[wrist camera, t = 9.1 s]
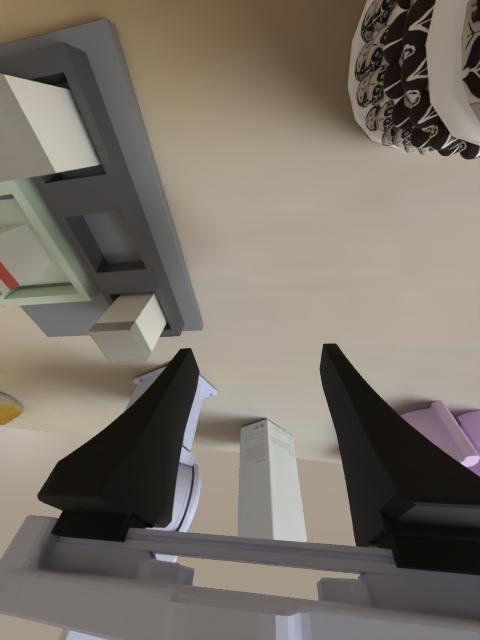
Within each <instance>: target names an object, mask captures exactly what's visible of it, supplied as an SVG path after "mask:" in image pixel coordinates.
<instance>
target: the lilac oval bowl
mask: <svg viewBox="0 0 480 640" xmlns="http://www.w3.org/2000/svg"><path fill="white" fill-rule="evenodd" d="M400 416H401V417H402V418H403V419H404V420H406V421H407V422H408V423H409V424H410V425H411V426H413V427H414V428H415V429H416V430H418V431H419V432H420V433H421V434H422V435H424V436H425V437H426V438H427V439H429V440H430V441H431V442H432V443H434V444H435V445H436V446H438V447H439V448H440V449H442V450H443V451H444V452H446V453H447V454H448V455H450V456H451V457H452V458H454V459H455V460H457V461H458V462H460V463H461V464H462V465H464V466H465V467H467V468H468V469H470V470H471V471H473V472H474V473H475V474H477V475H478V476H480V410H477V411H473V412H469V413H465V414H462V415H460V416H458V419H459V420H460V422H461V427H460V426H459V425H458V423H457V422H456V420H455V419H454V417H453V416H452V414H451V413H450V411H449V410H448V408H447V407H446V405H445V404H444V402H443V401H435V402H432V403H431V407H430V408H428V409H422V410H416V411H412V412H408V413H405V414H402V415H400Z"/></svg>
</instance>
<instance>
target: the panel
mask: <svg viewBox="0 0 480 640" xmlns="http://www.w3.org/2000/svg"><path fill="white" fill-rule="evenodd" d="M0 74H4V75H9V76H13V77H17V78H22V79H26V80H30V81H35V82H39V83H43V84H48V85H52V86H56V87H61V88H65V89H69V90H71V91H72V93H73V95H74V98H75V100H76V103H77V105H78V107H79V110H80V112H81V115H82V117H83V119H84V122H85V124H86V127H87V129H88V131H89V134H90V136H91V138H92V141H93V143H94V146H95V148H96V150H97V153H98V155H99V158H100V160H101V162H102V164H101V165H96V166H90V167H85V168H80V169H74V170H69V171H64V172H58V173H53V174H48V175H42V176H36V177H30V178H24V179H17V180H11V181H5V182H0V227H5V226H13V225H21V224H27V225H28V226H29V228H30V229H31V230H32V232H33V233H34V235H35V236H36V238H37V239H38V241H39V242H40V244H41V245H42V247H43V248H44V249H45V251H46V252H47V254H48V255H49V257H50V258H51V260H52V261H53V264H51V265H49V266H48V267H46V268H45V269H43V270H41V271H40V272H38V273H36V274H35V275H33V276H32V277H30V278H28V279H27V280H25V281H23V282H22V283H20V284H19V286H17V287H16V288H14V289H12V290H10V291H7V292H6V293H4V294H2V295H1V296H0V304H1V306H2V307H6V306H21V307H22V308H23V309H24V311H25V312H26V313H27V314H28V315H29V316H30V317H31V318H32V320H33V321H34V322H35V323H36V324H37V325H38V326H39V327H40V329H41V330H42V331H43V332H44V333H45V334H46V335H47V336H48V337H58V336H80V335H89V333H88V331H89V330H90V329H91V327H92V326H93V325H94V324H95V323H96V322H97V321H98V320H99V318H100V317H101V316H102V315H103V314H104V313H105V312H106V310H107V309H108V308H109V307H110V306H111V305H112V304H113V303H114V301H115V300H116V299H117V298H118V297H119V296H120V295H121V294H126V293H140V292H154V291H155V292H156V294H157V296H158V299H159V301H160V304H161V306H162V308H163V311H164V313H165V315H166V318H167V320H168V321H167V323H166V325H165V327H164V329H163V331H162V333H161V335H160V337H169V336H180V335H181V332H182V331H192V330H202V329H203V322H202V318H201V315H200V312H199V308H198V305H197V302H196V298H195V295H194V291H193V288H192V285H191V281H190V278H189V274H188V271H187V268H186V264H185V261H184V258H183V254H182V251H181V247H180V244H179V241H178V237H177V234H176V231H175V227H174V224H173V220H172V217H171V214H170V210H169V207H168V203H167V200H166V197H165V193H164V190H163V187H162V183H161V180H160V176H159V173H158V170H157V166H156V163H155V160H154V156H153V153H152V149H151V146H150V143H149V139H148V136H147V133H146V129H145V126H144V122H143V119H142V116H141V112H140V109H139V105H138V102H137V99H136V95H135V92H134V89H133V85H132V82H131V78H130V75H129V72H128V68H127V65H126V62H125V58H124V55H123V51H122V48H121V45H120V41H119V38H118V34H117V31H116V28H115V24H114V23H112V22H111V21H109V20H108V19H107V18H106V19H102V20H98V21H94V22H90V23H86V24H82V25H78V26H74V27H70V28H66V29H62V30H59V31H55V32H51V33H47V34H43V35H39V36H35V37H31V38H27V39H23V40H19V41H15V42H12V43H8V44H4V45H0Z"/></svg>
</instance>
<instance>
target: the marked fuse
mask: <svg viewBox="0 0 480 640" xmlns="http://www.w3.org/2000/svg"><path fill="white" fill-rule="evenodd" d="M51 264H53V261H52V260H51V258H50V257H49V255H48V254H47V252H46V251H45V249H44V248H43V247H42V245H41V244H40V242H39V241H38V239H37V238H36V236H35V235H34V233H33V232H32V230H31V229H30V228H29V226H28V225H27V224H21V225H13V226H5V227H0V296H1V295H2V294H4V293H6V292H7V291H10V290H12V289H14V288H16V287H17V286H19V284H20V283H22V282H23V281H25V280H27V279H28V278H30V277H32V276H33V275H35V274H36V273H38V272H40V271H41V270H43V269H45V268H46V267H48V266H49V265H51Z"/></svg>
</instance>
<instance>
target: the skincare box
mask: <svg viewBox="0 0 480 640" xmlns="http://www.w3.org/2000/svg"><path fill="white" fill-rule="evenodd" d="M238 506H239V507H238V537H248V538H260V539H273V540H285V541H297V542H307V537H306V529H305V523H304V515H303V508H302V502H301V493H300V487H299V479H298V472H297V464H296V457H295V449H294V442H293V436H291V435H290V434H288V433H286V432H285V431H283V430H282V429H280V428H279V427H277V426H276V425H274V424H273V423H271V422H270V421H269V420H267V419H265V420H262V421H260V422H257V423H253V424H249V425H246V426H243V427H241V434H240V468H239V504H238Z"/></svg>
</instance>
